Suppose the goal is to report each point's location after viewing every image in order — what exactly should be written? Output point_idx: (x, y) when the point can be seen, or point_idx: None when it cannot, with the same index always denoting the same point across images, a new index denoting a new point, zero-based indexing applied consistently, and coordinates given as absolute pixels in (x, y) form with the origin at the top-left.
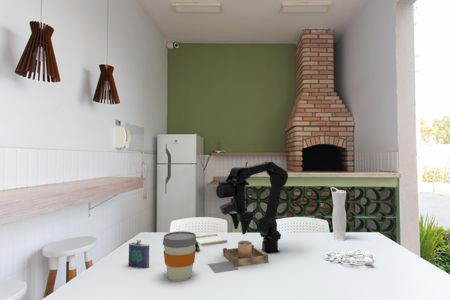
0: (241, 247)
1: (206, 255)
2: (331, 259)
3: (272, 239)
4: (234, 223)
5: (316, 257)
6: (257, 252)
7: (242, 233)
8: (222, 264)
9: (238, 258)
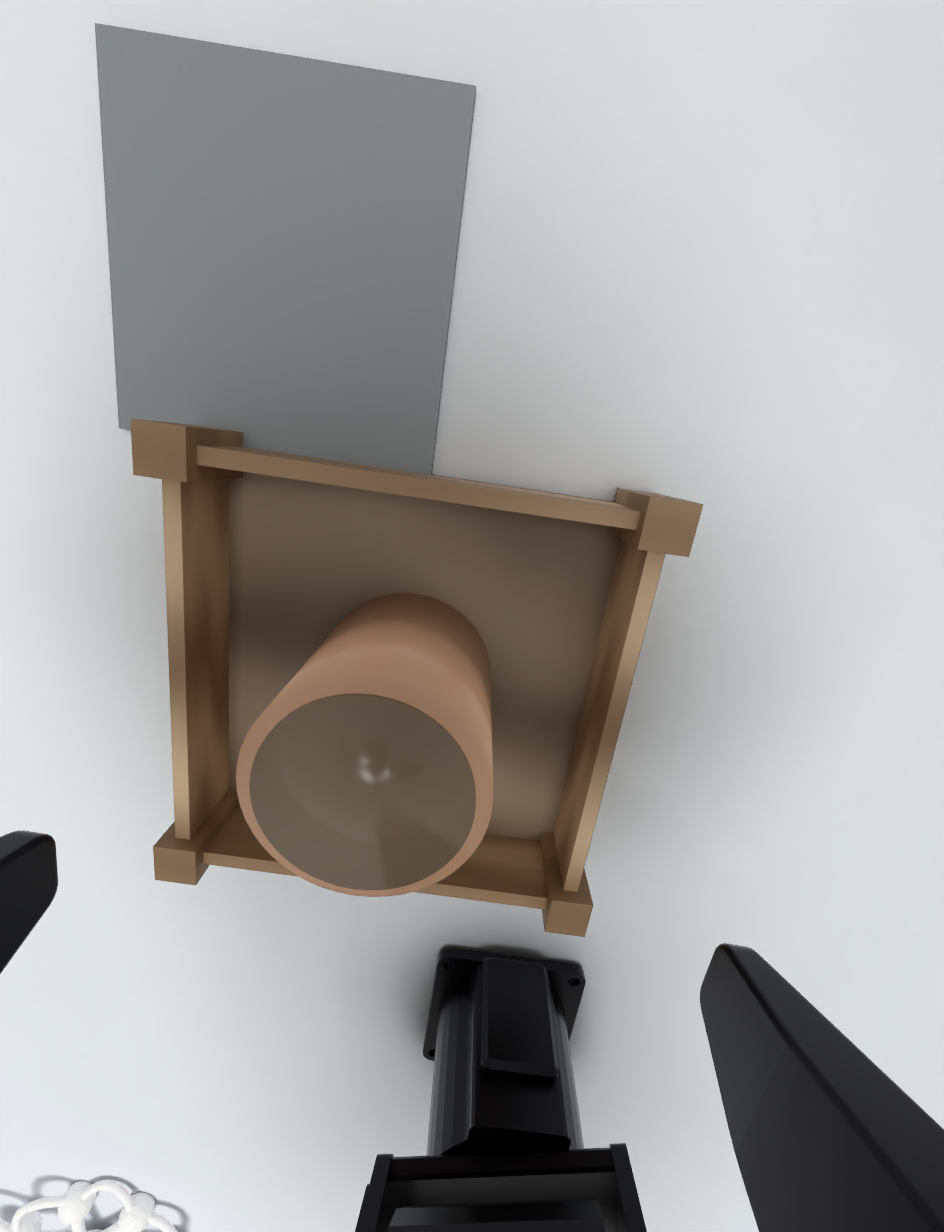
0: (306, 669)
1: (834, 275)
2: (44, 1206)
3: (378, 1170)
4: (873, 1191)
5: (192, 1168)
6: None
7: (3, 843)
8: (360, 313)
9: (414, 598)
